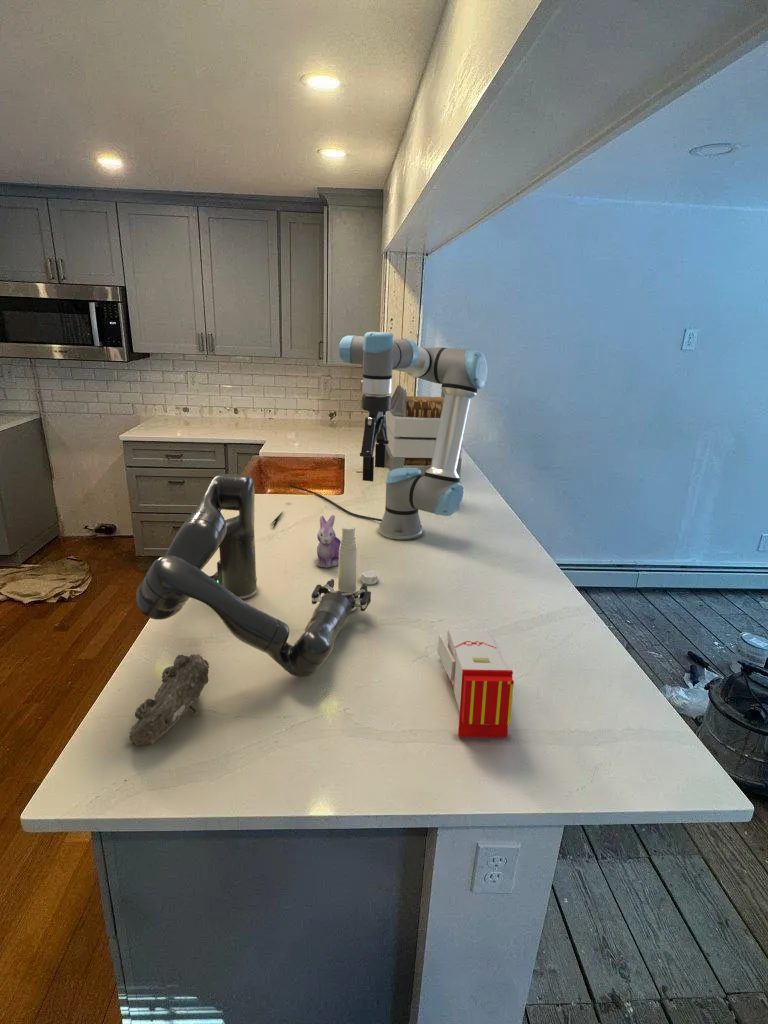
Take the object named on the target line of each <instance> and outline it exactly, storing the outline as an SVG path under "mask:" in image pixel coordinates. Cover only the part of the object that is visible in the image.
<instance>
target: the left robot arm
mask: <svg viewBox="0 0 768 1024" xmlns="http://www.w3.org/2000/svg"><path fill="white" fill-rule="evenodd" d="M255 487H256V485H255V481H254V479H253V477H252V476H251V475H247V474H236V473H235V474H231V473H220V474H217V475H214V477H212V479H211V481H210V482H209V484H208V486H207V488H206V490H205V492H204V494H203V496H202V498H201V499H200V501H199V502H198V503H197V505H196V506H195V508H194V509H193V511H192V512H191V513H190V515H189V516H188V517H187V518H186V519H185V521H184V522H183V523H182V525H181V526H180V528H179V530H178V531H177V533H176V535H175V536H174V538H173V540H172V541H171V543H170V545H169V547H168V549H167V551H166V552H165V555H163V556H162V555H161V556H159V557H158V558H157V559H155V560H154V561H153V562H152V564H151V565H150V567H149V569H147V571H146V573H145V574H144V576H143V577H142V579H141V580H140V582H139V583H138V585H137V588H136V592H135V603H136V605H137V608H138V610H139V611H140V613H141V614H142V615H144V616H145V617H146V618H149V619H151V620H156V621H157V620H159V621H162V620H166V619H169V618H172V617H173V616H175V615H177V614H178V613H179V612H180V611H181V610H182V609H183V608H184V607H185V605H186V604H187V602H189V600H190V599H193V600H196V601H198V602H201V603H203V604H204V605H206V606H207V607H209V608H210V609H211V610H212V611H213V612H214V613H215V614H216V615H217V616H218V617H219V618H220V620H221V621H222V623H223V624H224V625H225V627H226V628H227V629H228V631H229V632H230V633H231V634H232V635H233V636H234V637H235V638H236V639H237V640H239V641H240V642H242V643H243V644H246V645H247V646H249V647H252V648H254V649H256V650H258V651H260V652H262V653H265V654H267V655H268V656H269V657H270V658H271V659H272V660H273V661H274V662H275V663H277V664H278V665H279V666H280V667H281V668H282V669H284V670H285V671H286V672H287V673H288V674H289V675H291V676H292V677H296V678H300V679H303V678H304V679H305V678H308V677H311V676H312V675H313V674H314V673H315V672H316V671H317V670H318V669H319V667H320V666H321V665H322V664H323V663H324V662H325V661H326V660H327V659H328V657H329V656H330V655H331V653H332V652H333V649H334V646H335V639H336V638H337V636H338V634H339V632H341V630H342V629H343V627H344V625H345V623H346V622H347V620H348V618H349V615H350V614H351V609H353V608H354V607H356V608H359V609H360V611H361V612H365V611H366V610H367V609H368V607H369V605H370V604H371V601H372V592H371V591H369V590H368V585H367V584H365V583H363V582H362V584H361V586H360V588H359V589H358V590H356V591H355V590H353V591H350V592H340V591H338V590H334V589H335V578H331V579H330V580H328V581H326V583H325V584H323V585H321V584H316V586H315V587H314V589H313V591H312V593H311V604H312V605H316V604H317V603H318V605H317V606H316V607H315V608H314V610H313V613H312V615H311V618H310V619H309V621H308V622H307V624H306V626H305V628H304V632H303V633H302V635H301V636H300V637H299V638H298V639H297V640H296V642H295V643H294V644H293V645H292V644H290V643H288V639H289V636H290V627H289V625H288V624H287V623H286V622H284V621H282V620H281V619H279V618H277V617H274V616H272V615H270V614H268V613H266V612H264V611H262V610H260V609H258V608H256V607H254V606H253V605H251V604H250V603H248V602H246V601H245V600H246V599H250V598H251V597H253V596H256V594H257V593H258V586H257V585H258V583H257V581H258V577H257V564H256V563H257V561H256V540H255V534H256V533H255V521H256V520H255V518H256V517H255V500H256V497H255V496H256V488H255ZM221 511H238V515H236V516H233V517H230V518H227V519H225V517H224V515H223V513H222V512H221ZM217 551H219V560H218V561H217V562H216V569H217V570H216V572H215V573H214V574H213V575H209V574H207V573H206V572H204V571H203V569H204V568H205V566H206V565H207V564H208V563H209V561H210V560H212V558H213V557H214V555H215V554H216V552H217ZM322 594H323V595H322ZM352 595H353V597H352Z"/></svg>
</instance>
